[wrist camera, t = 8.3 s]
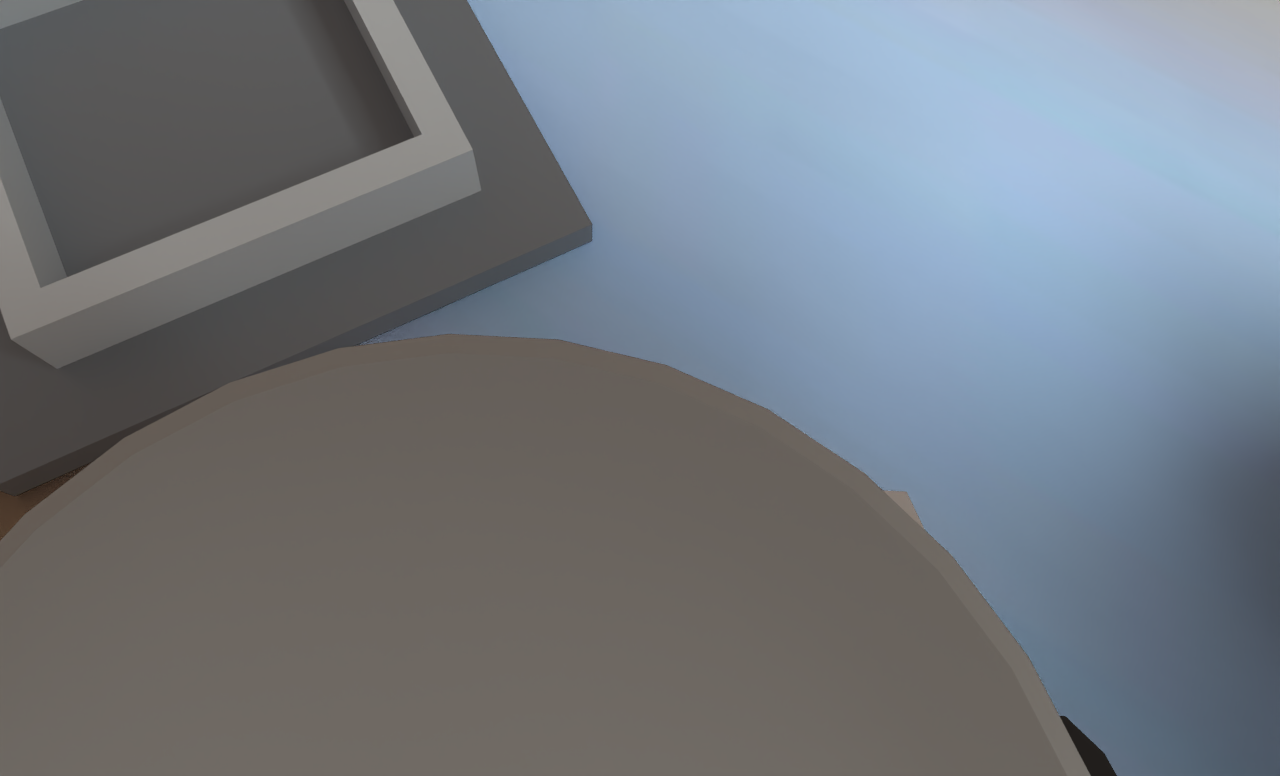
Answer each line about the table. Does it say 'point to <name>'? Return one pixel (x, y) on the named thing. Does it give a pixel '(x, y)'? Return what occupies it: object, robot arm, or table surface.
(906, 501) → the robot arm
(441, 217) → the end holder
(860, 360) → the table surface
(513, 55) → the table surface
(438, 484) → the canned food
